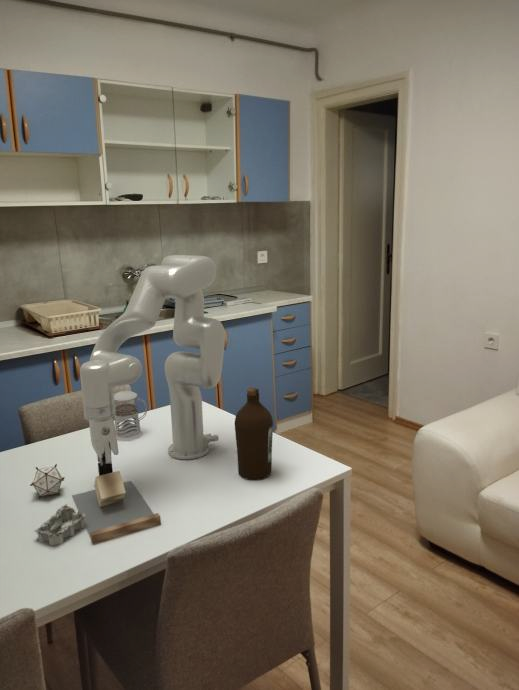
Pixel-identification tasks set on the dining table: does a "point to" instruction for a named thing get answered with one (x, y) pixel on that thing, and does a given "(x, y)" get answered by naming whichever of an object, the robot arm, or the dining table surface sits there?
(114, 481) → the block
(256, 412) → the olive oil
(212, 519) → the dining table surface
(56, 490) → the game die
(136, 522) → the rail
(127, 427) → the french press
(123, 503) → the grey rectangular board
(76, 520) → the carved stone fragment
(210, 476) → the dining table surface
